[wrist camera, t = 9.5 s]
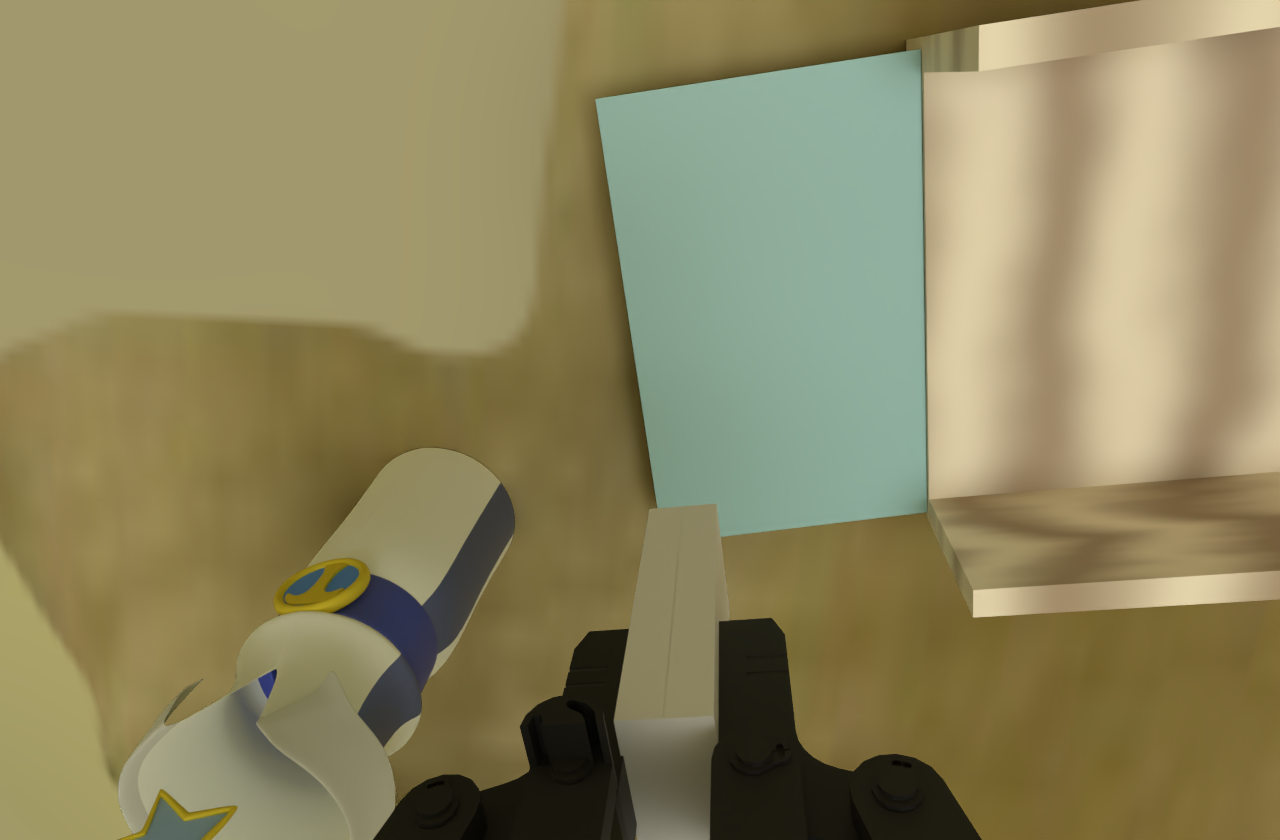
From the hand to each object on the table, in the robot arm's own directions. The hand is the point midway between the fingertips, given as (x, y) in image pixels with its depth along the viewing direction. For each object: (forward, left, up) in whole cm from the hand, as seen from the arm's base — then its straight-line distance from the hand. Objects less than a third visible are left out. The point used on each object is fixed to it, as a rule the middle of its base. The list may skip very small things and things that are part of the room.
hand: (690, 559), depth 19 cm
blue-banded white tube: (-15, -9, -21) cm, 27 cm away
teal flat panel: (+9, 0, -19) cm, 21 cm away
